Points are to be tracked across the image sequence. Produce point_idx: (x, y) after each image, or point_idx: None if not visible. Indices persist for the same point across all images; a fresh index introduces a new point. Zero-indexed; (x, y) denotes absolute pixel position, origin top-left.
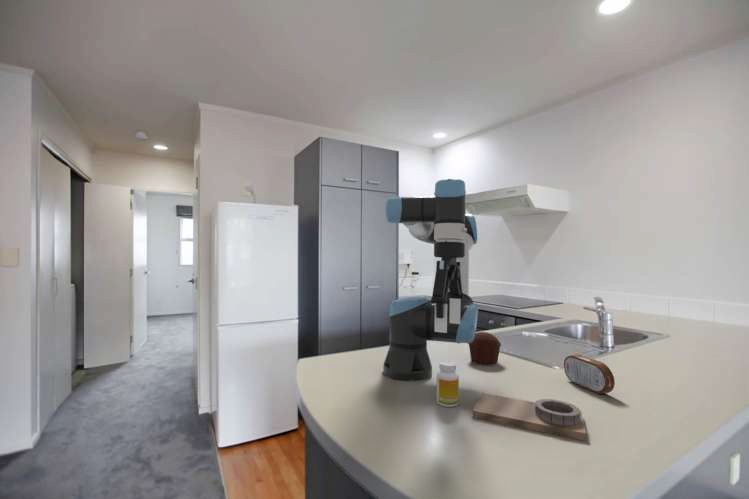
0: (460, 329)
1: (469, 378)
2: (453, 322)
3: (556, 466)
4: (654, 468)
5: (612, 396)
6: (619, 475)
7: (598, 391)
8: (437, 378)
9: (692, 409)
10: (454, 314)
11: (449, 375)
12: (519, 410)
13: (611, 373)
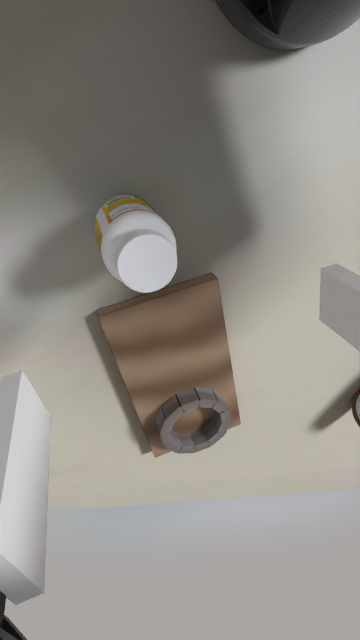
0: None
1: (340, 174)
2: (323, 293)
3: None
4: (136, 500)
5: None
6: (86, 493)
7: (356, 398)
8: (106, 227)
9: (344, 468)
10: (357, 320)
11: (117, 275)
12: (171, 372)
13: None
